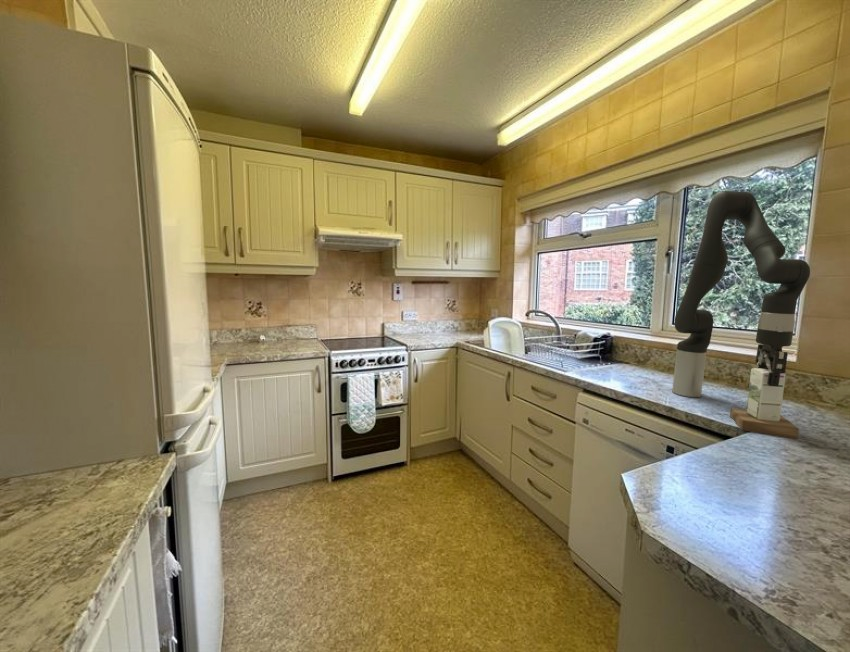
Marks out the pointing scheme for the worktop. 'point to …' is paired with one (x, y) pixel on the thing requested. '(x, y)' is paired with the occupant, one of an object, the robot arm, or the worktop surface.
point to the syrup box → (764, 396)
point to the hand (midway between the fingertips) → (766, 382)
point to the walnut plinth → (764, 424)
